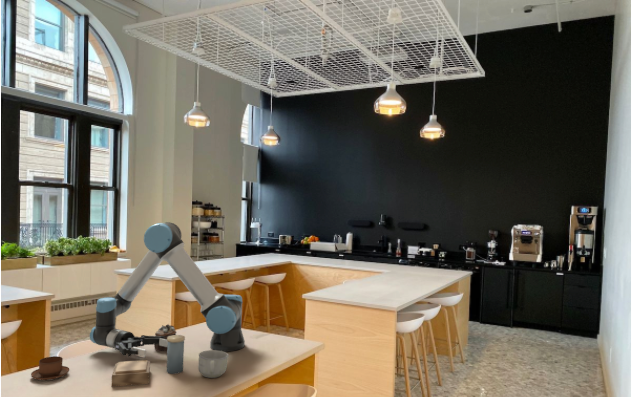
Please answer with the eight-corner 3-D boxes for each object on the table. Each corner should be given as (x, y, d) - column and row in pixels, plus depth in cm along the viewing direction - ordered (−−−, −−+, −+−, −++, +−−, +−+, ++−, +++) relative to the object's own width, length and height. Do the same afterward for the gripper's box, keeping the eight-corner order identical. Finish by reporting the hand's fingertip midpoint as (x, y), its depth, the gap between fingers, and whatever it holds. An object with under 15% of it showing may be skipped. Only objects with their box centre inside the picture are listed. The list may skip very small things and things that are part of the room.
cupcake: (164, 343, 208) (165, 321, 208) (180, 347, 203) (181, 324, 203) (147, 349, 199) (148, 326, 199) (164, 353, 195) (165, 329, 195)
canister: (183, 367, 179) (184, 334, 179) (183, 373, 173) (185, 339, 173) (166, 368, 177) (167, 335, 177) (165, 374, 171) (167, 340, 171)
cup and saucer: (22, 379, 162) (23, 362, 162) (53, 368, 173) (53, 352, 173) (47, 385, 158) (47, 367, 158) (76, 374, 169) (77, 357, 169)
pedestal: (149, 371, 173) (150, 358, 173) (148, 383, 162) (149, 370, 162) (115, 374, 169) (115, 361, 169) (111, 386, 158) (111, 372, 158)
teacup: (202, 369, 177) (203, 348, 177) (230, 370, 177) (231, 349, 177) (191, 383, 163) (192, 360, 164) (221, 384, 163) (222, 362, 163)
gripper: (144, 341, 199) (181, 350, 190) (93, 357, 177) (132, 368, 167) (145, 324, 199) (182, 331, 190) (94, 338, 177) (133, 347, 168)
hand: (159, 348), depth 179 cm, fingers open, 13 cm apart
